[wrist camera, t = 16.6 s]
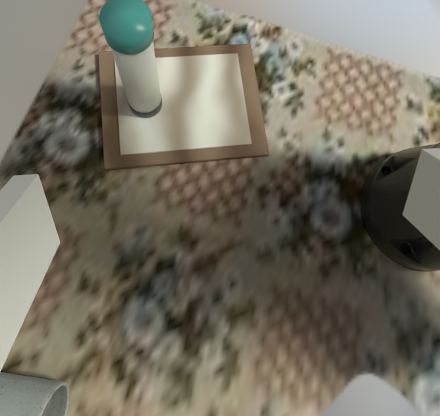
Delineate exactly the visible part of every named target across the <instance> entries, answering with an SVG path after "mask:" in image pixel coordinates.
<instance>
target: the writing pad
mask: <svg viewBox="0 0 440 416" xmlns="http://www.w3.org/2000/svg"><path fill="white" fill-rule="evenodd" d="M154 52H155V59H156V66H157V73H158V79H159V86H160V93H161V97H162V108H161V110H160V111H159V113H158V114H156V115H155V116H153V117H150V118H141V117H138V116H136V115H135V114H134V113H133V112H132V111H131V109H130V107H129V104H128V100H127V96H126V93H125V90H124V87H123V84H122V81H121V78H120V75H119V72H118V68H117V65H116V62H115V59H114V56H113V53H112V51H105V52H98V53H99V73H100V92H101V111H102V130H103V149H104V169H105V170H116V169H127V168H138V167H150V166H161V165H172V164H184V163H195V162H206V161H218V160H229V159H240V158H252V157H263V156H268V155H269V152H268V146H267V140H266V134H265V128H264V122H263V116H262V110H261V104H260V98H259V92H258V86H257V80H256V74H255V68H254V62H253V56H252V50H251V44H238V45H219V46H200V47H181V48H162V49H154Z"/></svg>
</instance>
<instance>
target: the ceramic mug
mask: <svg viewBox="0 0 440 416" xmlns="http://www.w3.org/2000/svg"><path fill="white" fill-rule="evenodd" d="M68 405H69V386H68V384H67V383H66V382H64V381H58V380H51V379H44V378H38V377H31V376H22V375H16V374H11V373H4V372H0V416H66V414H67V409H68Z"/></svg>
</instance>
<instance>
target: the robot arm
mask: <svg viewBox="0 0 440 416" xmlns="http://www.w3.org/2000/svg"><path fill="white" fill-rule="evenodd" d="M361 212H362V217H363V221H364V224H365V226H366V229H367V231H368V233H369V235H370V237H371V238H372V240H373V241H374V243H375V244H376V245H377V246H378V247H379V249H380V250H381V251H382V252H383V253H384V254H386V255H387V256H388V257H389V258H391V259H392V260H394V261H395V262H397V263H399V264H401V265H403V266H405V267H408V268H411V269H415V270H420V271H437V270H440V143H439V144H434V145H428V146H422V147H415V148H410V149H405V150H402V151H400V152H397V153H395V154H393V155H391V156H390V157H388V158H387V159H385V160H384V161H382V162H381V163H380V164H378V165H377V166H376V167H375V168H374V169H373V170H372V171H371V173H370V174H369V176H368V177H367V179H366V181H365V184H364V186H363V190H362V195H361ZM59 244H60V240H59V237H58V234H57V231H56V228H55V224H54V221H53V218H52V215H51V212H50V209H49V206H48V203H47V200H46V196H45V193H44V190H43V187H42V184H41V181H40V178H39V175H38V174H30V175H14V176H13V177H12V178H11V179H10V180H9V181H8V182H7V183H6V185H5V186H4V187H3V188H2V189H1V190H0V371H1V369H2V367H3V365H4V363H5V360H6V358H7V356H8V354H9V352H10V350H11V348H12V345H13V343H14V341H15V339H16V337H17V335H18V332H19V330H20V328H21V326H22V324H23V322H24V320H25V317H26V315H27V313H28V311H29V309H30V307H31V304H32V302H33V300H34V298H35V296H36V294H37V292H38V289H39V287H40V285H41V283H42V281H43V279H44V276H45V274H46V272H47V270H48V268H49V266H50V264H51V261H52V259H53V257H54V255H55V253H56V251H57V248H58V246H59Z"/></svg>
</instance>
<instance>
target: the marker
mask: <svg viewBox="0 0 440 416" xmlns="http://www.w3.org/2000/svg"><path fill="white" fill-rule="evenodd" d="M99 18H100V23H101V26H102V29H103V32H104V35H105V38H106V41H107V43H108V45H109V46H110V47H111V50H112V53H113V56H114V59H115V62H116V65H117V68H118V72H119V75H120V78H121V81H122V84H123V87H124V90H125V93H126V96H127V100H128V104H129V107H130V109H131V111H132V112H133V113H134V114H135V115H136V116H138V117H141V118H150V117H153V116H155V115H156V114H158V113H159V111H160V110H161V108H162V97H161V93H160V86H159V79H158V73H157V66H156V59H155V52H154V46H153V38H154V31H153V23H152V16H151V12H150V9H149V8H148V6H147V5H146V4H145V3H144V2H143V1H141V0H109V1H108V2H107V3H106V4H105V5H104V6H103V7H102V9H101V11H100V17H99Z"/></svg>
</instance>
